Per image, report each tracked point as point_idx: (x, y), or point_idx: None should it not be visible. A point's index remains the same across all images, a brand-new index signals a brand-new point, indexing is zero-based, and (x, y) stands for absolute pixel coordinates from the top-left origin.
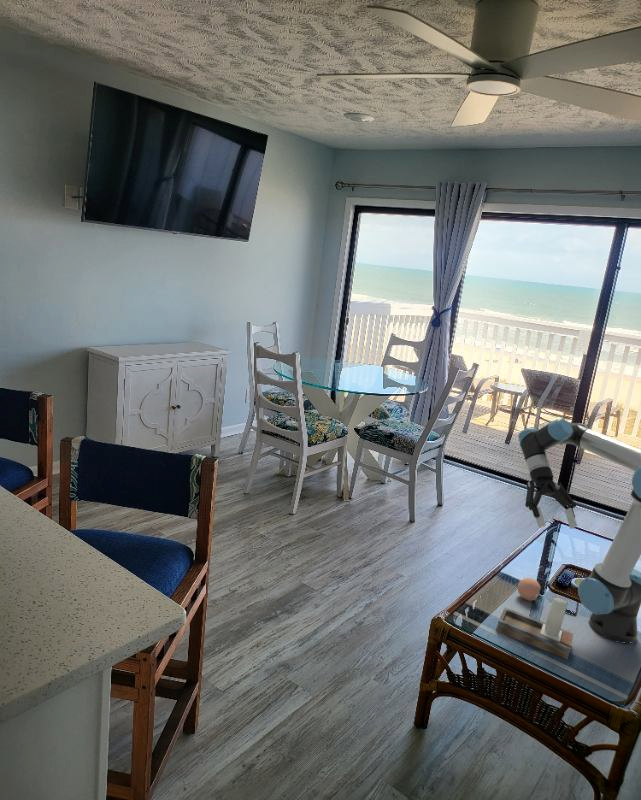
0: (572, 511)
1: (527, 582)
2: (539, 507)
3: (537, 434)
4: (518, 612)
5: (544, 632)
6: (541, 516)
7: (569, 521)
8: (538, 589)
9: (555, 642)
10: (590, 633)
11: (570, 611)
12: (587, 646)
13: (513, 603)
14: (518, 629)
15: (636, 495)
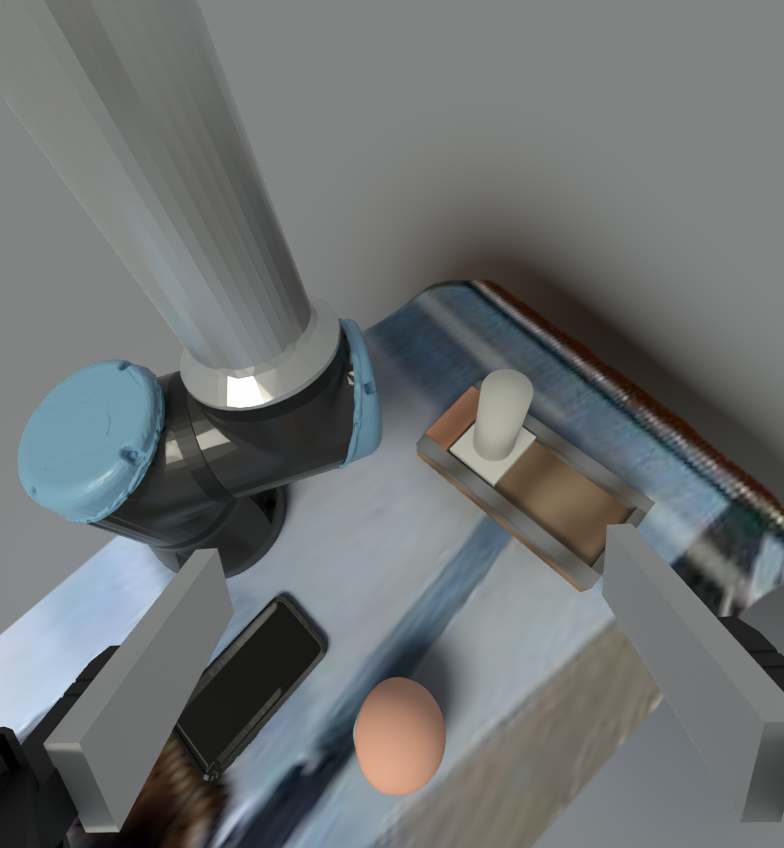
0: (59, 721)
1: (424, 726)
2: (771, 705)
3: None
4: (549, 553)
5: (518, 441)
6: (683, 589)
7: (200, 650)
8: (384, 687)
9: None
10: (311, 499)
11: (283, 614)
12: None
13: (485, 686)
14: (597, 463)
15: None
